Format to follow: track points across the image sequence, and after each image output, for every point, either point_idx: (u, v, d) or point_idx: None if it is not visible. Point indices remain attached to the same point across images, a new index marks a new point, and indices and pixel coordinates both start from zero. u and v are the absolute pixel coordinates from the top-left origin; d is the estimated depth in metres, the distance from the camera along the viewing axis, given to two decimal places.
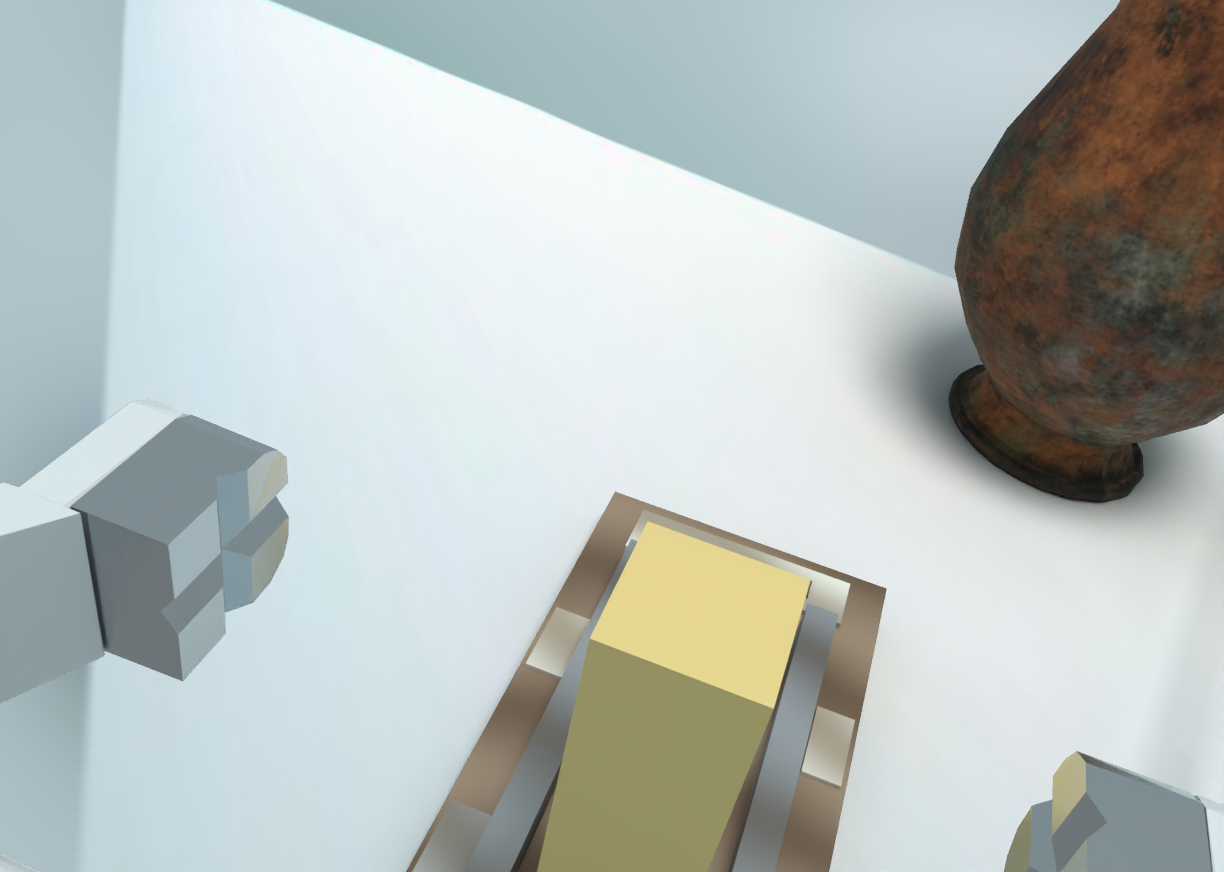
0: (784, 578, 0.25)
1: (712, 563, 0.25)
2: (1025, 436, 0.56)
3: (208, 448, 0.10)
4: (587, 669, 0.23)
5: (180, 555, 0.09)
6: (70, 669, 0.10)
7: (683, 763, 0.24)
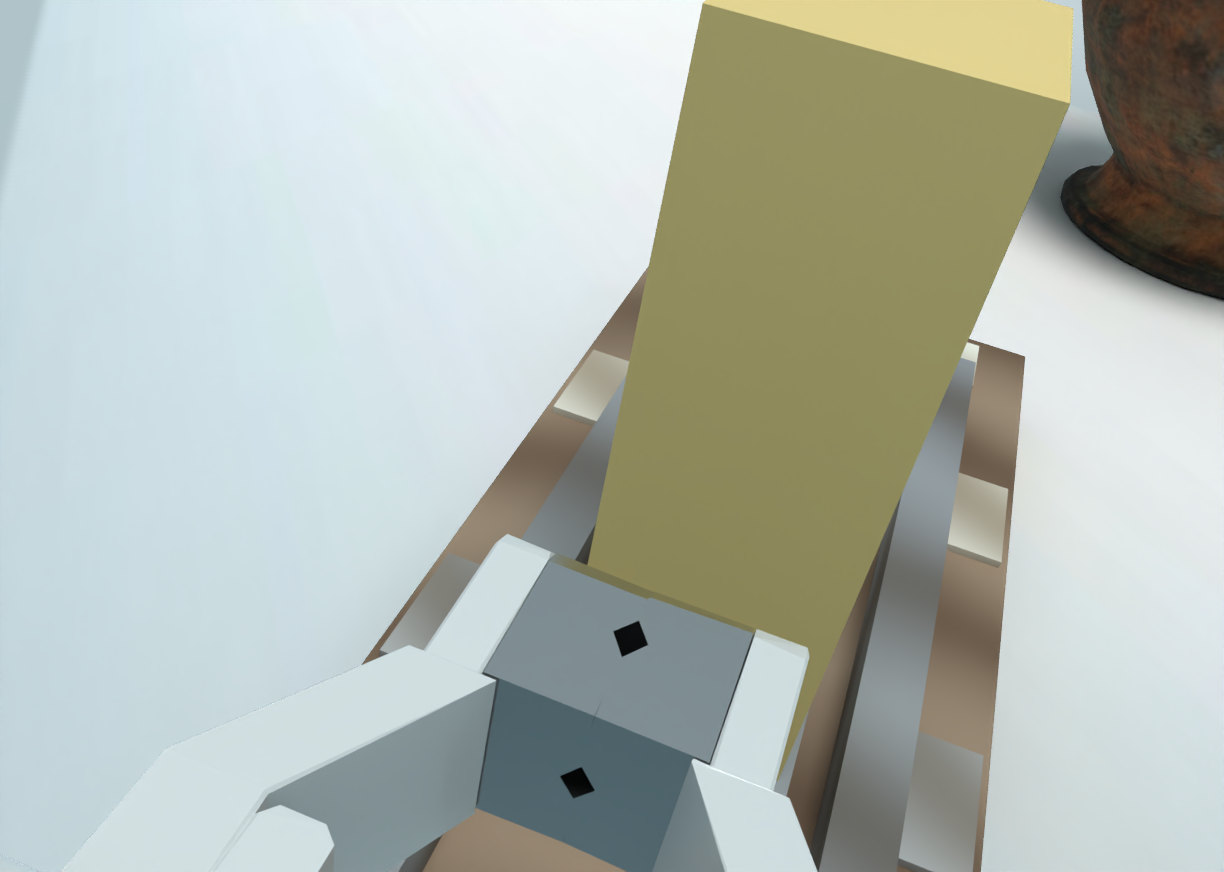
0: (1029, 1, 0.14)
1: None
2: (1167, 224, 0.45)
3: (592, 595, 0.09)
4: (693, 89, 0.13)
5: (594, 721, 0.09)
6: (445, 830, 0.09)
7: (862, 293, 0.13)
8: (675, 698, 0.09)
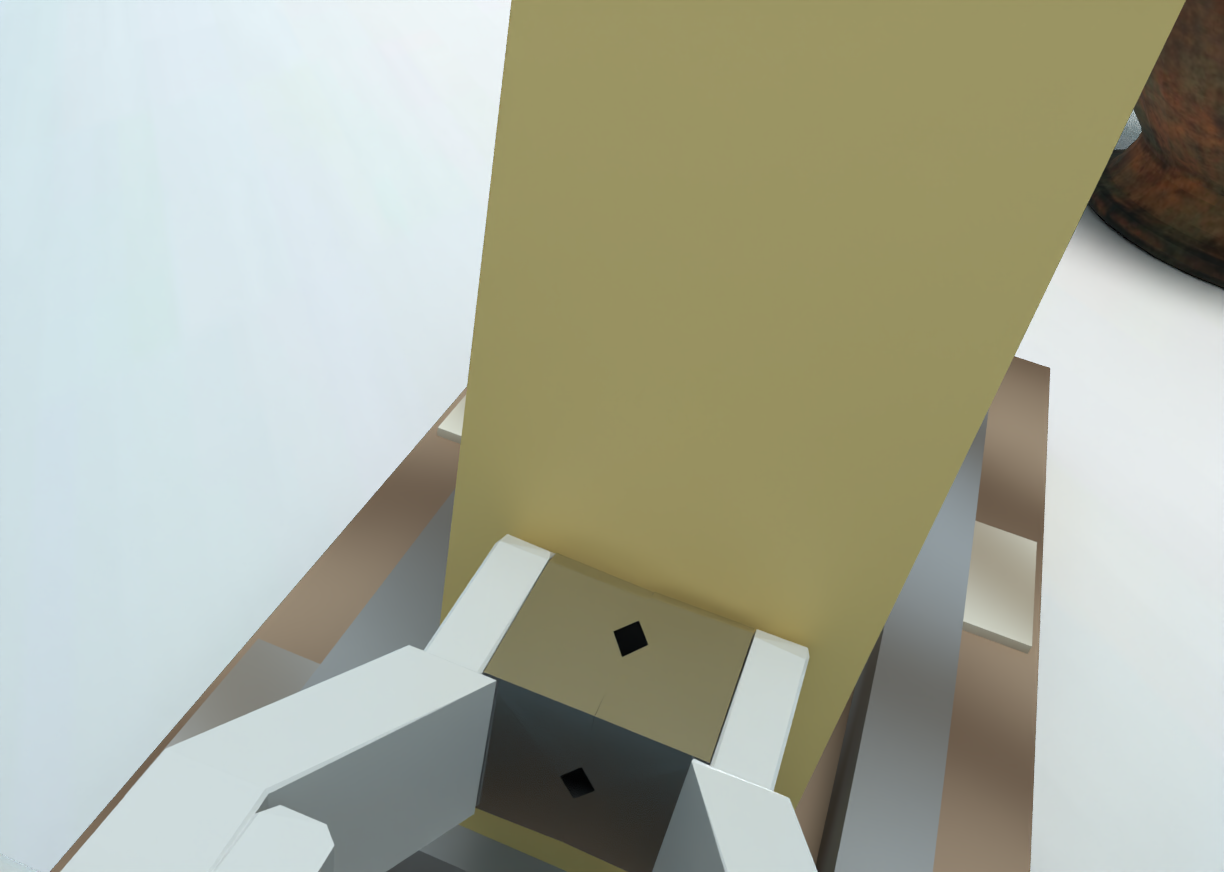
0: None
1: None
2: (1206, 215, 0.38)
3: (592, 595, 0.09)
4: None
5: (594, 721, 0.09)
6: (445, 830, 0.09)
7: (870, 168, 0.07)
8: (675, 699, 0.09)
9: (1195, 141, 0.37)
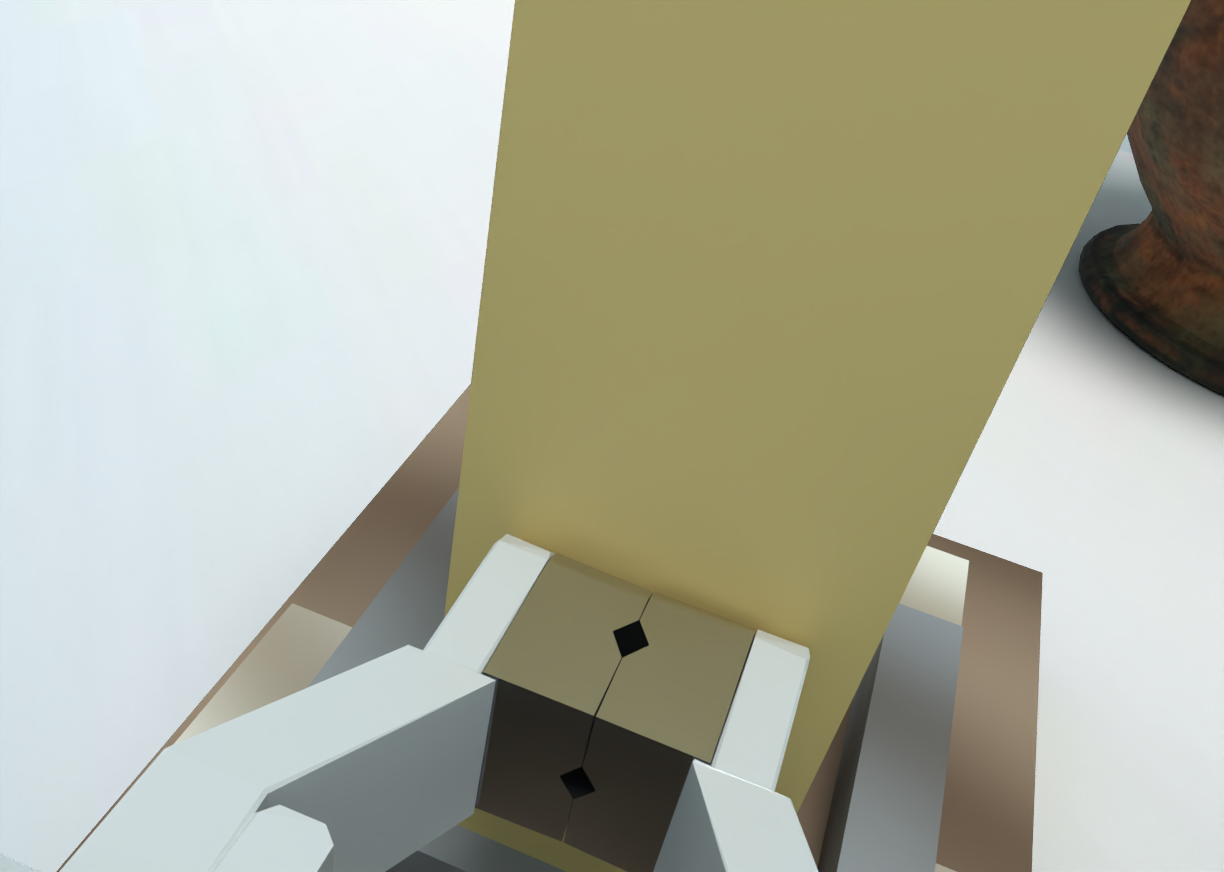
0: None
1: None
2: None
3: (592, 595, 0.09)
4: None
5: (593, 722, 0.09)
6: (444, 831, 0.09)
7: (872, 175, 0.07)
8: (675, 699, 0.09)
9: (1219, 235, 0.31)
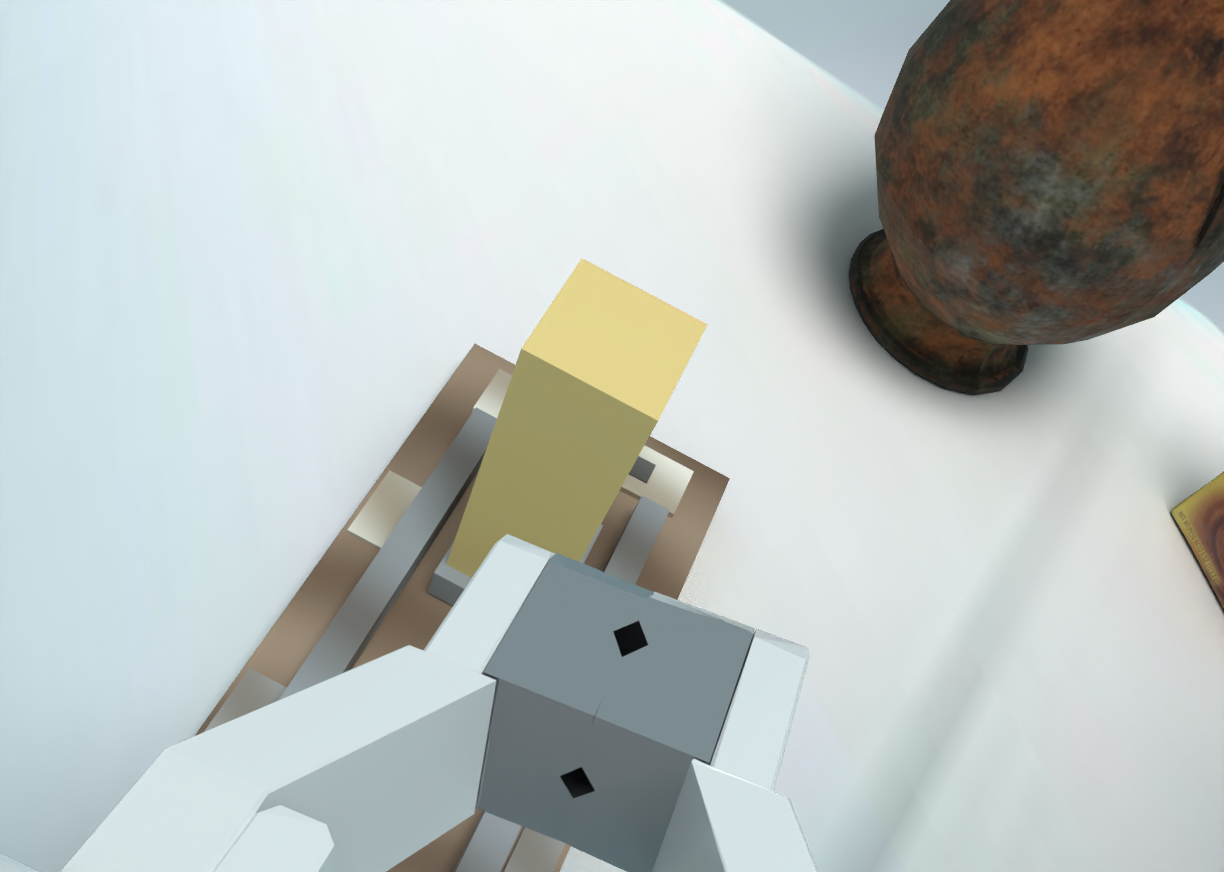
0: (686, 320, 0.31)
1: (629, 300, 0.31)
2: (913, 319, 0.55)
3: (592, 595, 0.09)
4: (517, 372, 0.29)
5: None
6: (444, 829, 0.09)
7: (583, 454, 0.31)
8: (674, 699, 0.09)
9: (907, 277, 0.53)
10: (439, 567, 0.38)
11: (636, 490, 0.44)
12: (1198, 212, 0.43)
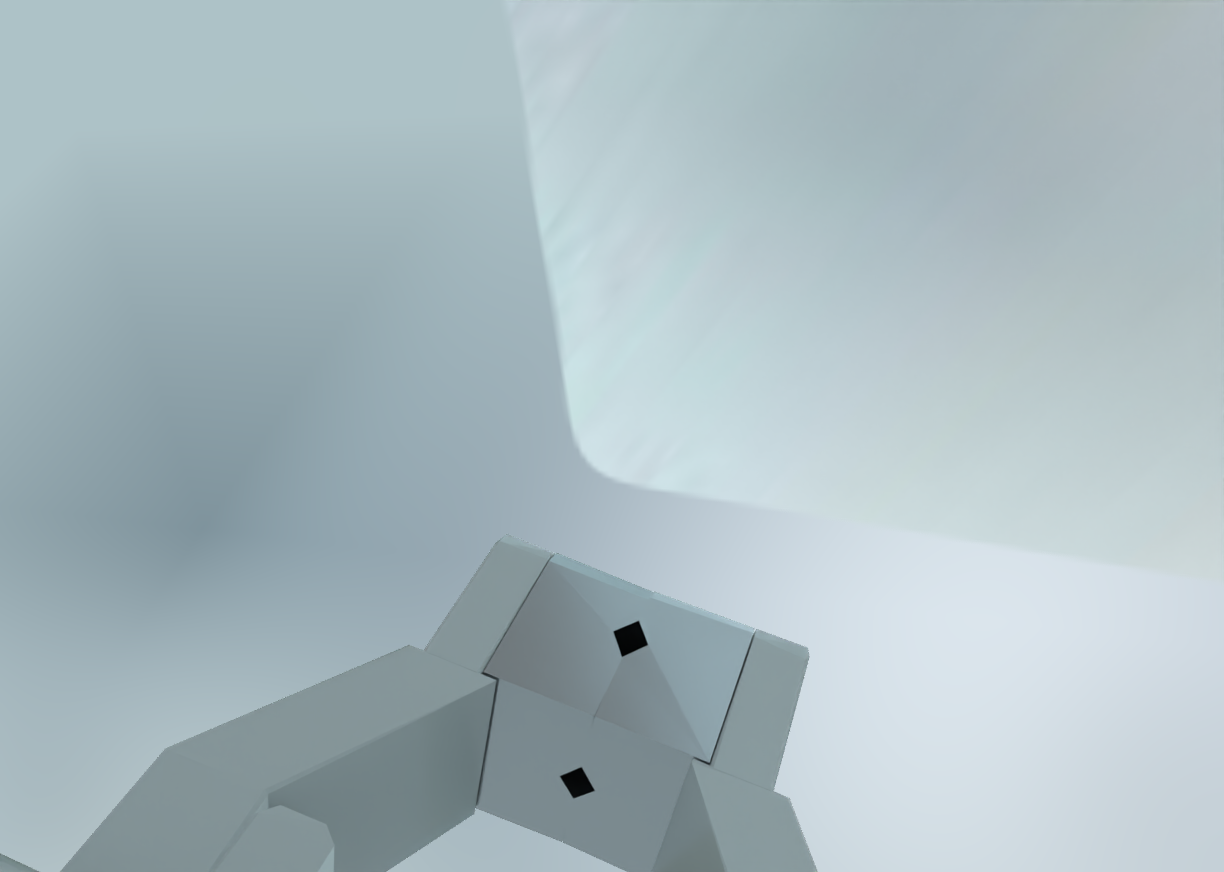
0: None
1: None
2: None
3: (592, 595, 0.09)
4: None
5: None
6: (444, 828, 0.09)
7: None
8: (675, 699, 0.09)
9: None
10: None
11: None
12: None
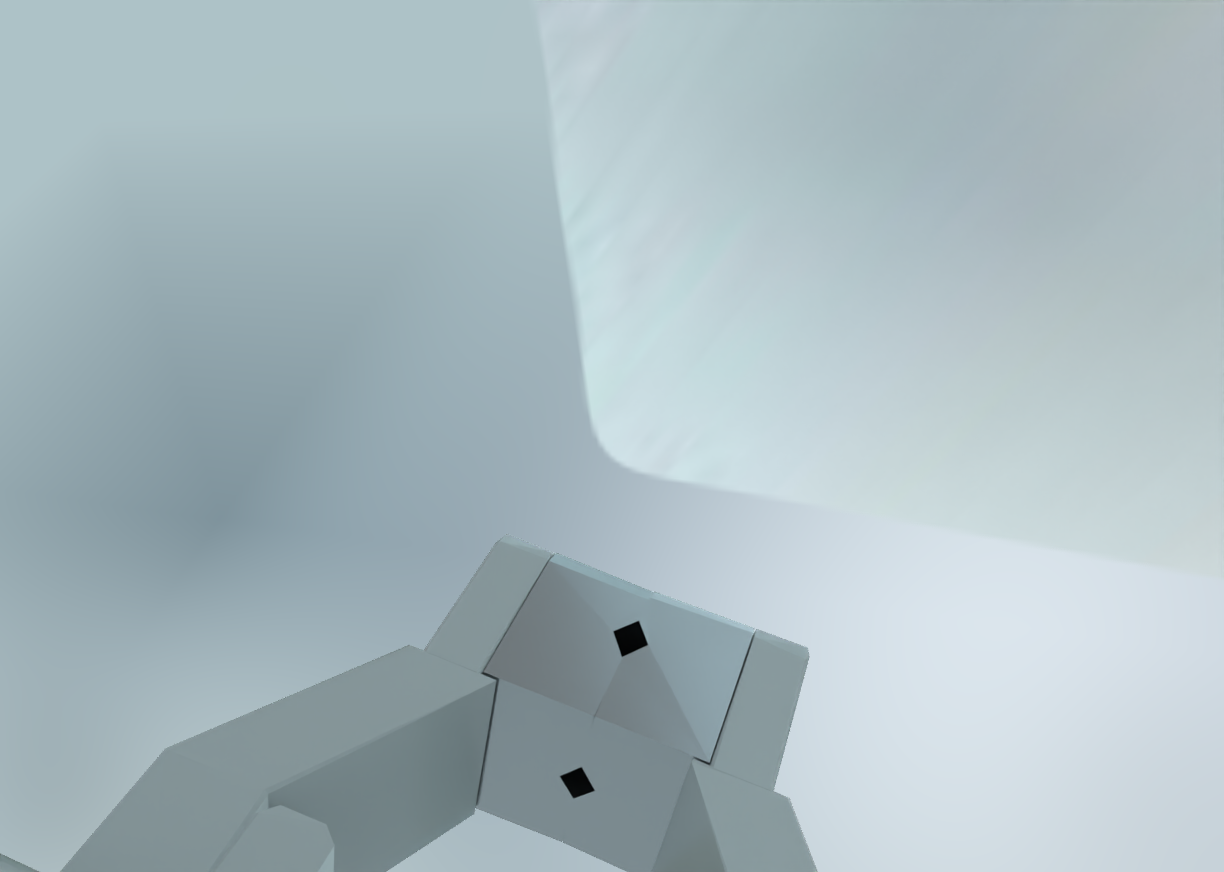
0: None
1: None
2: None
3: (592, 595, 0.09)
4: None
5: None
6: (445, 828, 0.09)
7: None
8: (675, 698, 0.09)
9: None
10: None
11: None
12: None
